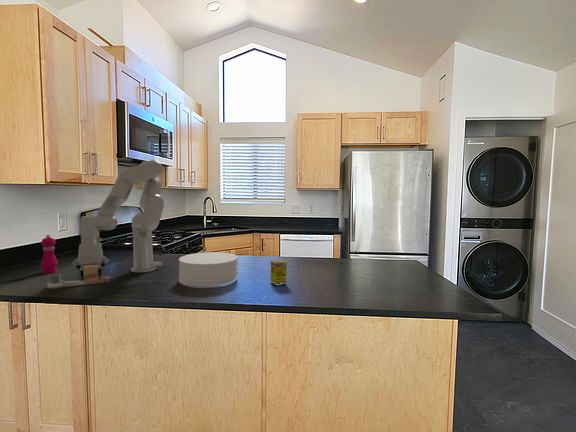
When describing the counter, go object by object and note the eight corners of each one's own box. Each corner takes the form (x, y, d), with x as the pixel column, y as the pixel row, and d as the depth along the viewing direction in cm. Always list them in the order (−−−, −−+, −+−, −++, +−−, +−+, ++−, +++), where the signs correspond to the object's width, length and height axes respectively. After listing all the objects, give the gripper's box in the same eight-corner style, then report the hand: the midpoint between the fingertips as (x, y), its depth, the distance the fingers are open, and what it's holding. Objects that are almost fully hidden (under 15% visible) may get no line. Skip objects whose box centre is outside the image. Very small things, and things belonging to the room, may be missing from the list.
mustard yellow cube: (98, 276, 160) (98, 264, 160) (98, 279, 155) (97, 267, 155) (84, 277, 157) (84, 265, 157) (83, 280, 152) (83, 268, 152)
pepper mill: (49, 274, 162) (47, 235, 161) (37, 273, 164) (35, 235, 162) (61, 270, 169) (60, 234, 168) (50, 270, 171) (48, 233, 169)
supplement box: (275, 286, 148) (275, 263, 147) (270, 283, 153) (270, 260, 152) (286, 284, 150) (287, 262, 149) (281, 281, 156) (281, 259, 155)
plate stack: (199, 293, 137) (199, 267, 136) (168, 280, 156) (168, 257, 155) (248, 280, 157) (249, 257, 157) (216, 270, 176) (216, 250, 175)
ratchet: (109, 279, 155) (109, 268, 155) (109, 282, 149) (109, 271, 149) (48, 285, 143) (48, 273, 143) (46, 289, 138) (45, 277, 137)
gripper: (110, 238, 162) (111, 273, 164) (69, 240, 154) (71, 277, 155) (110, 240, 156) (111, 276, 157) (68, 243, 147) (69, 281, 149)
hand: (91, 276), depth 156 cm, fingers closed on mustard yellow cube, 6 cm apart
